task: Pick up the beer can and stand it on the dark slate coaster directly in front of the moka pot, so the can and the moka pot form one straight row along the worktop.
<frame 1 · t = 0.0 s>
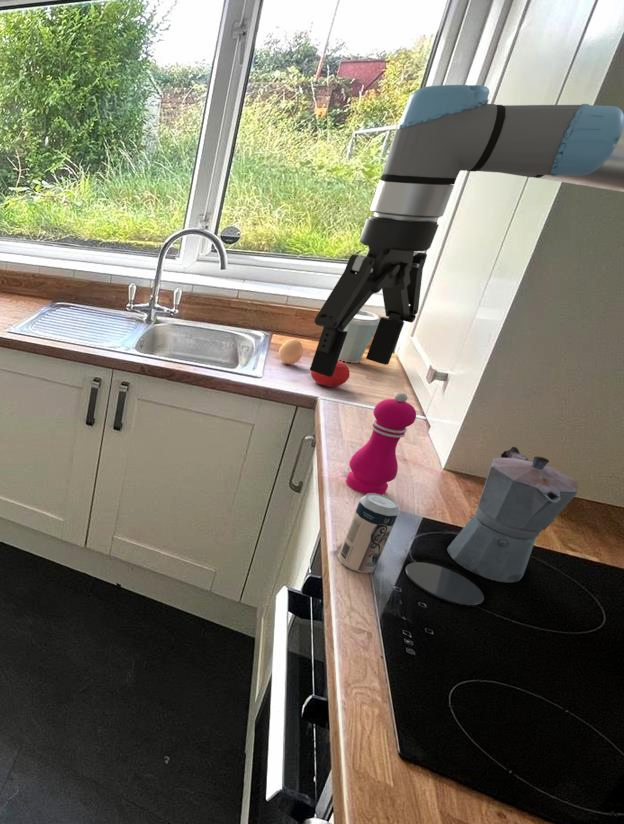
hand: (349, 367, 84), 31 cm above the countertop, tool pointing down, fingers open, 13 cm apart
disposable coffee cup: (344, 360, 182), on the countertop
egg: (287, 364, 176), on the countertop
moka pot: (479, 563, 93), on the countertop
beer can: (354, 565, 91), on the countertop
pepper mill: (364, 488, 112), on the countertop
tomato: (325, 385, 161), on the countertop
slate coaster: (442, 584, 87), on the countertop
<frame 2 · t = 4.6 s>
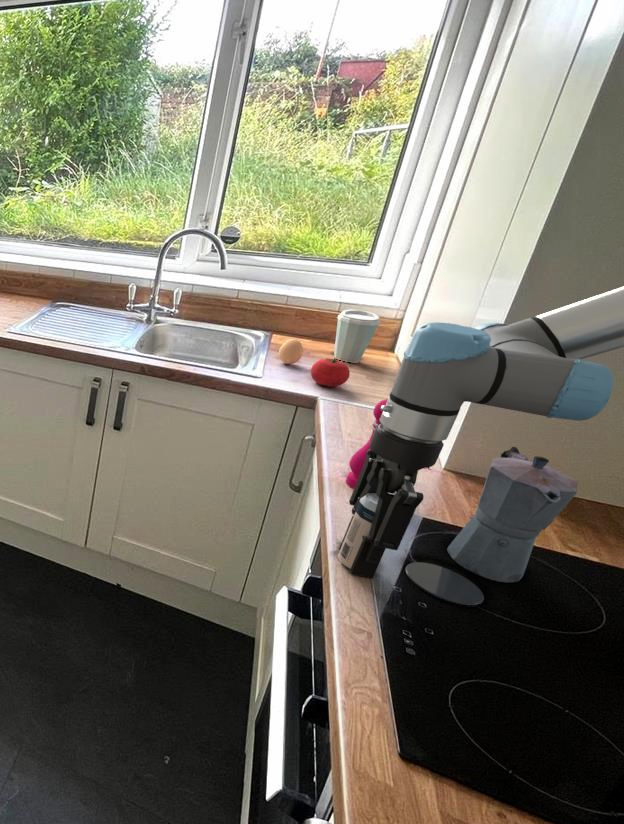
hand: (355, 563, 91), 0 cm above the countertop, tool pointing down, fingers closed on beer can, 5 cm apart
beer can: (354, 565, 91), on the countertop, touching gripper
everything else where it was.
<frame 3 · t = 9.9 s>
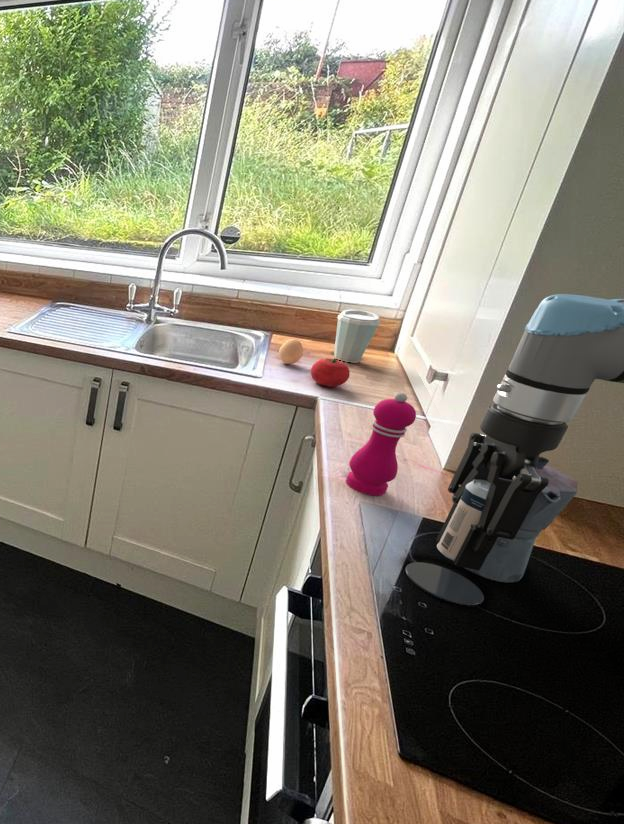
hand: (457, 554, 85), 6 cm above the countertop, tool pointing down, fingers closed on beer can, 5 cm apart
beer can: (455, 557, 86), point 5 cm above the countertop, touching gripper
everything else where it was.
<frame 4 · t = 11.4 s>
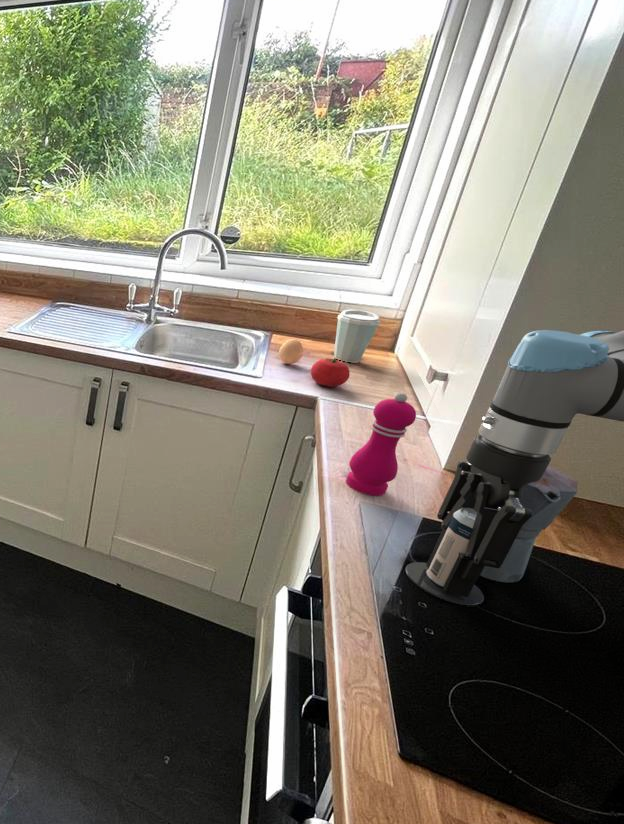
hand: (446, 580, 87), 1 cm above the countertop, tool pointing down, fingers closed on beer can, 5 cm apart
beer can: (444, 583, 87), resting on slate coaster, touching gripper
everything else where it was.
when the fingers open (2 cm above the countertop, at t = 15.4 s): beer can drops 1 cm, resting on slate coaster.
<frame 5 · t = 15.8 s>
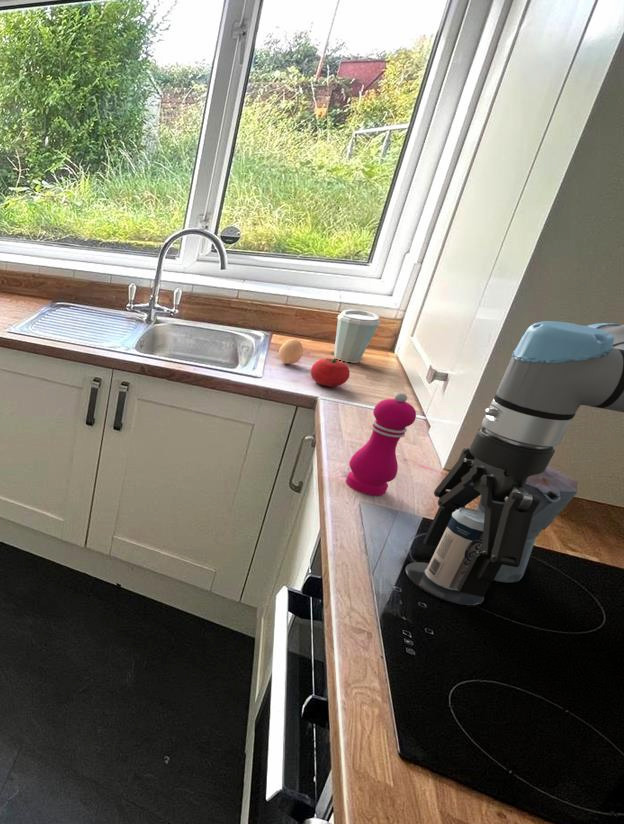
hand: (451, 567, 86), 3 cm above the countertop, tool pointing down, fingers open, 10 cm apart
beer can: (443, 582, 88), resting on slate coaster
everything else where it was.
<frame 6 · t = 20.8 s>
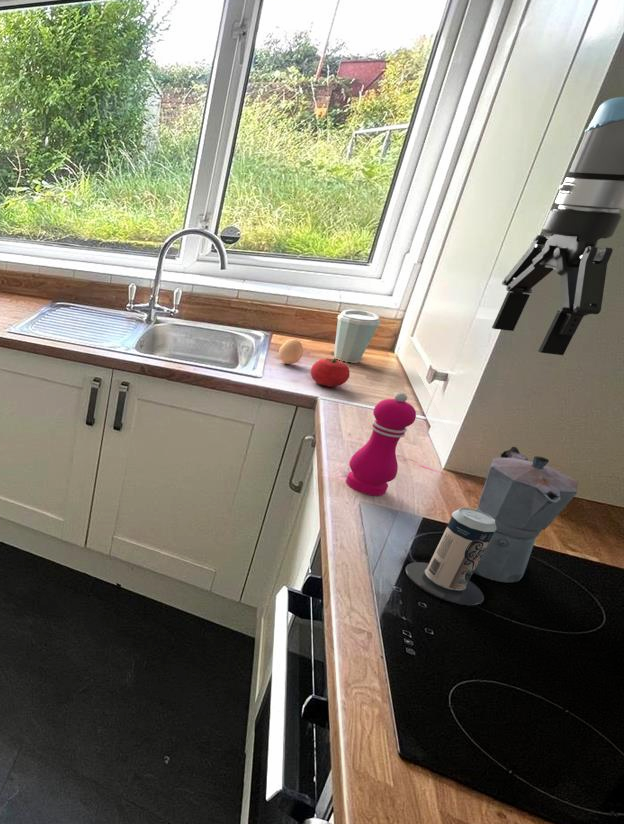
hand: (524, 340, 97), 32 cm above the countertop, tool pointing down, fingers open, 13 cm apart
nothing on the countertop moved.
at the end: beer can 0.2 cm from the target spot, resting on slate coaster; beer can tilted 0°; moka pot moved 0.2 cm from its start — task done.
